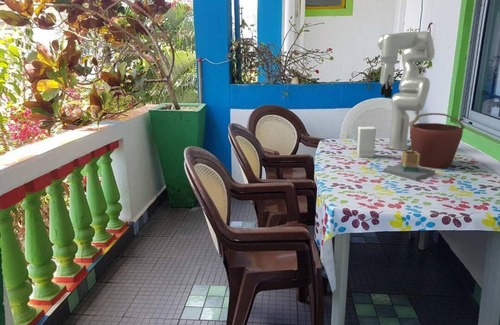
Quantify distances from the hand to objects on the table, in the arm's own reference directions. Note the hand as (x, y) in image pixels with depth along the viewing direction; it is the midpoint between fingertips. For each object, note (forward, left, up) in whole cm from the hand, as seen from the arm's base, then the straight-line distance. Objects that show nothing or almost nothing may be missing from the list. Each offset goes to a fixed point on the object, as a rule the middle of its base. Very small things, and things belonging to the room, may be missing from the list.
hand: (385, 96), depth 190 cm
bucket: (-12, +21, -32) cm, 40 cm away
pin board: (+11, +23, -32) cm, 41 cm away
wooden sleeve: (+11, +23, -31) cm, 40 cm away
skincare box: (+2, -8, -32) cm, 34 cm away
